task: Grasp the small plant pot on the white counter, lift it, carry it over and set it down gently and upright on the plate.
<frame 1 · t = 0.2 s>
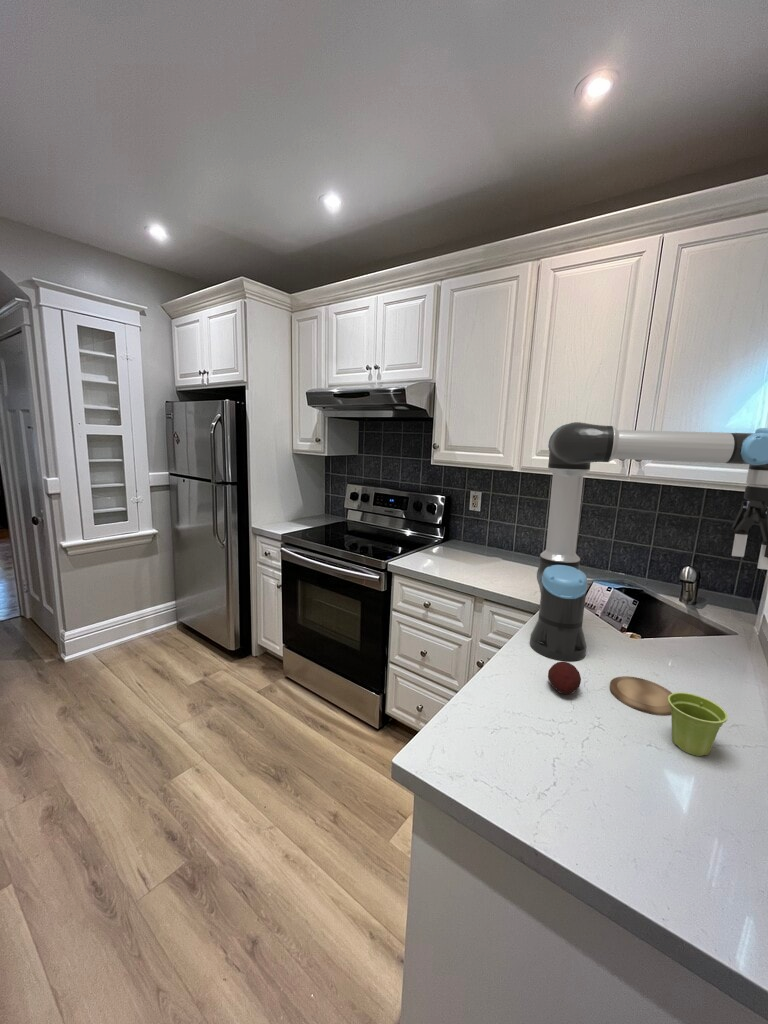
hand: (750, 562, 117), 28 cm above the worktop, fingers open, 13 cm apart
plant pot: (690, 746, 84), on the worktop
plate: (642, 696, 100), on the worktop
potato: (562, 690, 102), on the worktop
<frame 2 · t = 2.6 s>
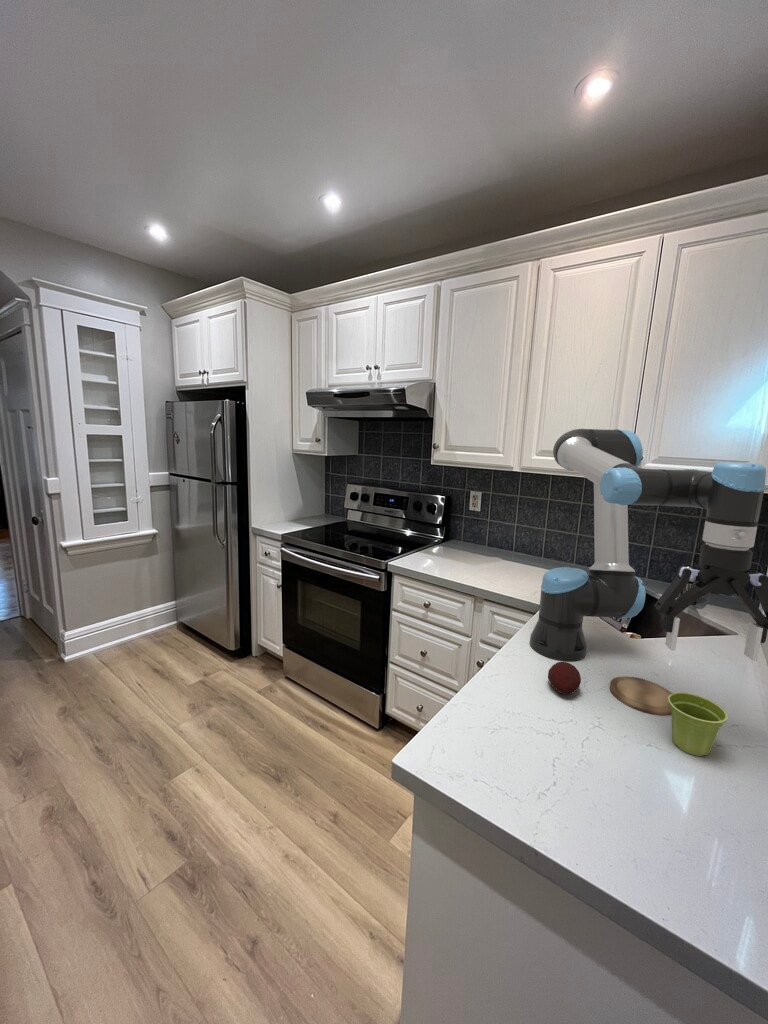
hand: (709, 652, 82), 19 cm above the worktop, fingers open, 13 cm apart
nothing on the worktop moved.
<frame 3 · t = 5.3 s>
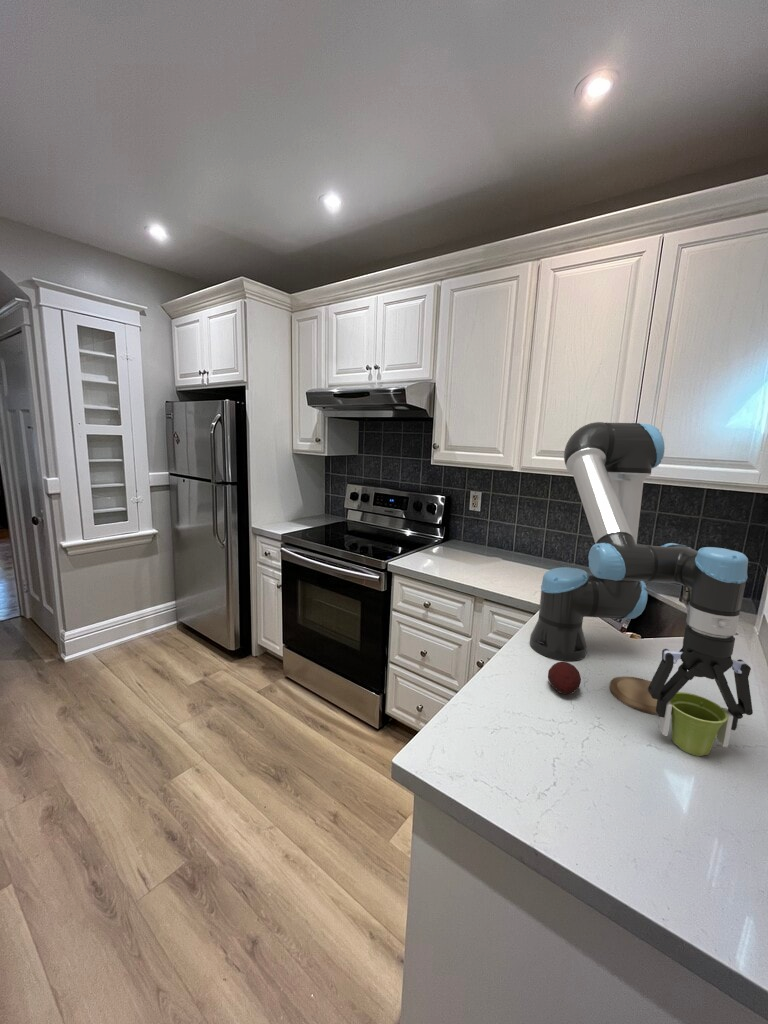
hand: (691, 736, 83), 2 cm above the worktop, fingers closed on plant pot, 9 cm apart
plant pot: (690, 746, 84), on the worktop, touching gripper
everything else where it was.
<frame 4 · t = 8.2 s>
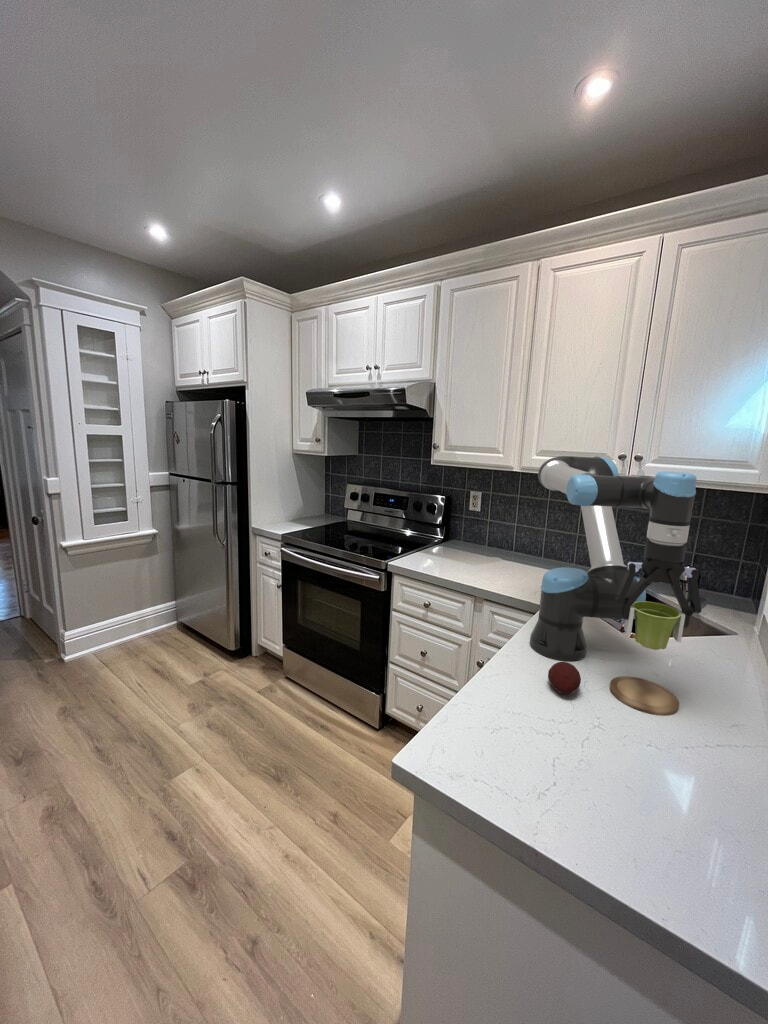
hand: (651, 635, 97), 15 cm above the worktop, fingers closed on plant pot, 9 cm apart
plant pot: (650, 644, 98), point 13 cm above the worktop, touching gripper
everything else where it was.
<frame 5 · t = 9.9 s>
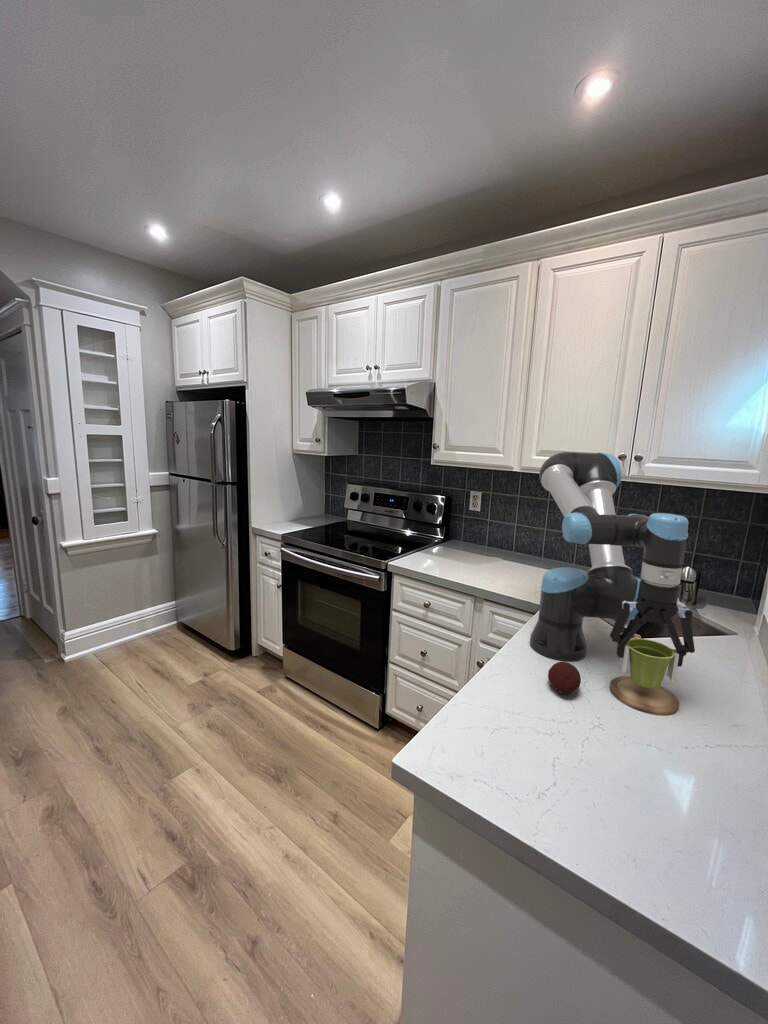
hand: (646, 673, 99), 6 cm above the worktop, fingers closed on plant pot, 9 cm apart
plant pot: (645, 682, 99), point 4 cm above the worktop, touching gripper
everything else where it was.
when the fingers open (4 cm above the worktop, at t = 11.3 s): plant pot stays where it is, resting on plate.
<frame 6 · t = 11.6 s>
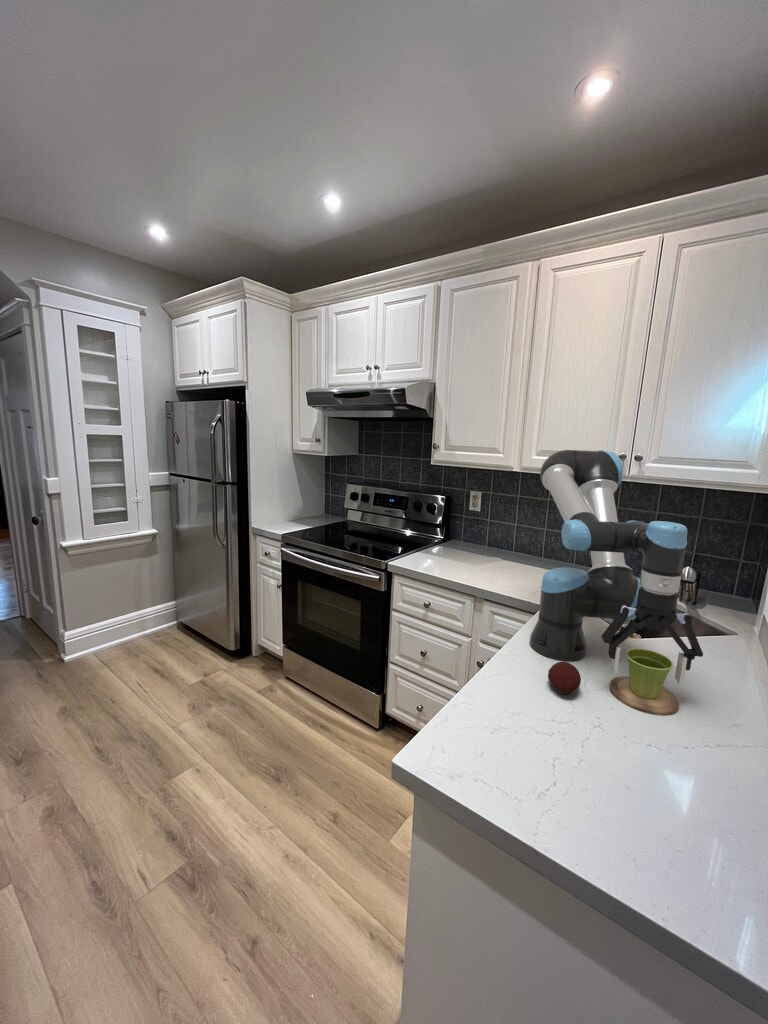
hand: (645, 676, 99), 5 cm above the worktop, fingers open, 13 cm apart
plant pot: (643, 692, 100), point 1 cm above the worktop, touching plate
everything else where it was.
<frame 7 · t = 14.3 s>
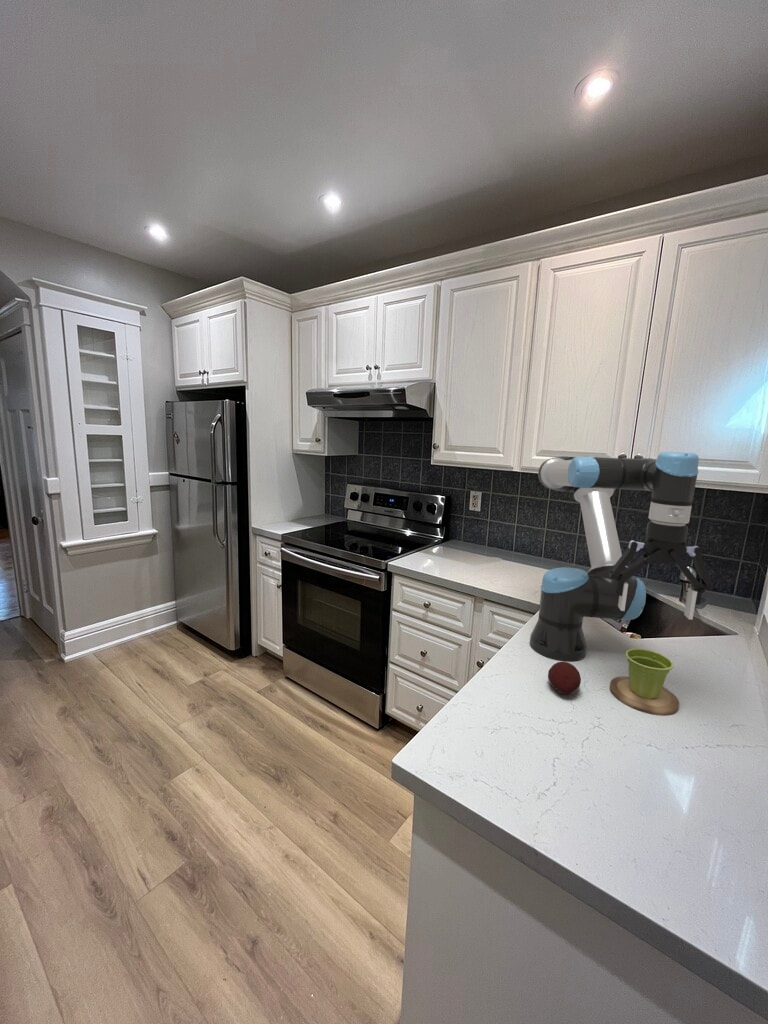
hand: (653, 613, 97), 21 cm above the worktop, fingers open, 13 cm apart
nothing on the worktop moved.
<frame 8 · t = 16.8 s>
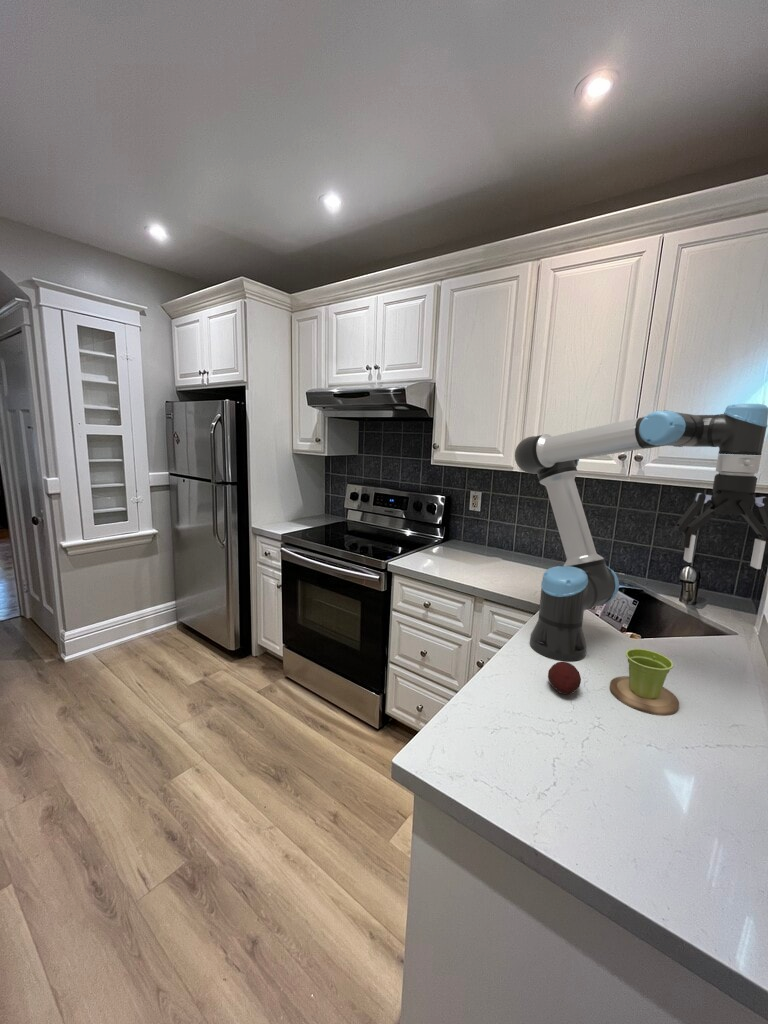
hand: (720, 564, 99), 32 cm above the worktop, fingers open, 13 cm apart
nothing on the worktop moved.
at the end: plant pot 0.1 cm from the plate (horizontally); plant pot tilted 0°; the gripper is holding nothing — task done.
